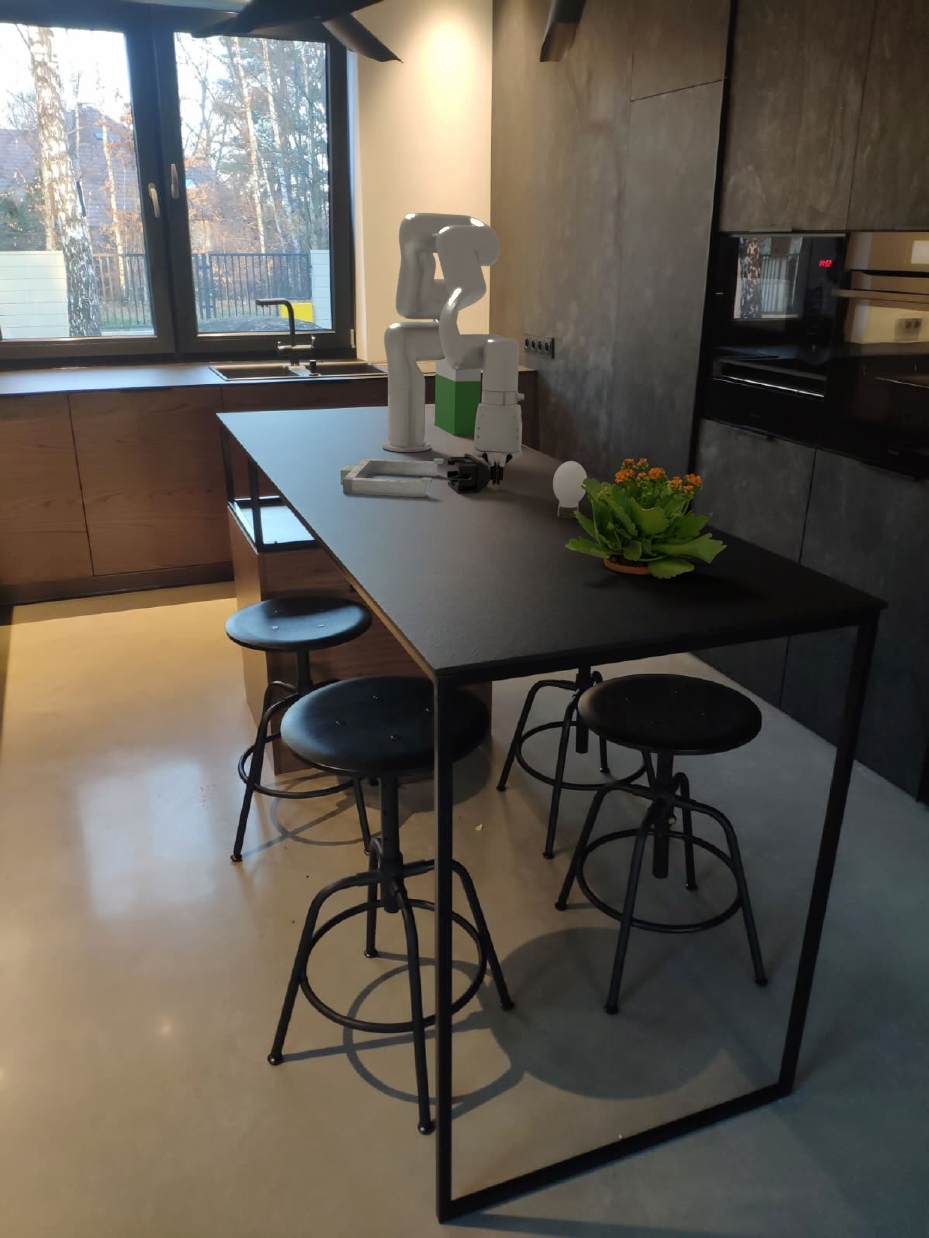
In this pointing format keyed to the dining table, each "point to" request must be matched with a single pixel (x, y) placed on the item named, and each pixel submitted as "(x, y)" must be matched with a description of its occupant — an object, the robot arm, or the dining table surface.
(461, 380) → the green white box
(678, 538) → the potted flower
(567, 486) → the light bulb
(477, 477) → the end cap
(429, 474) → the mounting bracket
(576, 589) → the dining table surface
